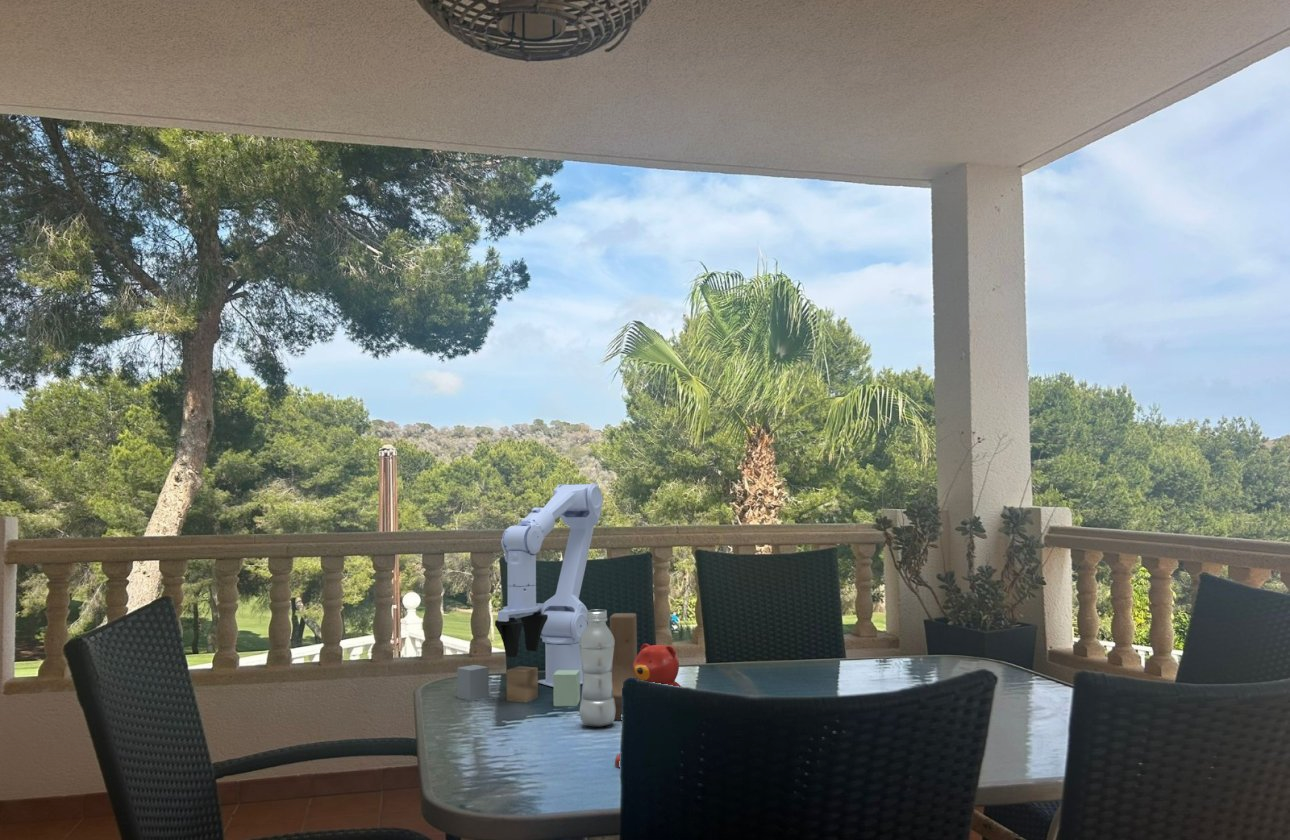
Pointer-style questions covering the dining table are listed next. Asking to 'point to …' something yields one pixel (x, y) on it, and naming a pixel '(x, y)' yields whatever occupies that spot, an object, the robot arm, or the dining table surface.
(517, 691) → the walnut block
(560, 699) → the sage block
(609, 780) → the dining table surface
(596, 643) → the plastic bottle
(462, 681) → the grey block
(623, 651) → the wooden block
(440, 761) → the dining table surface
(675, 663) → the stacking bear
